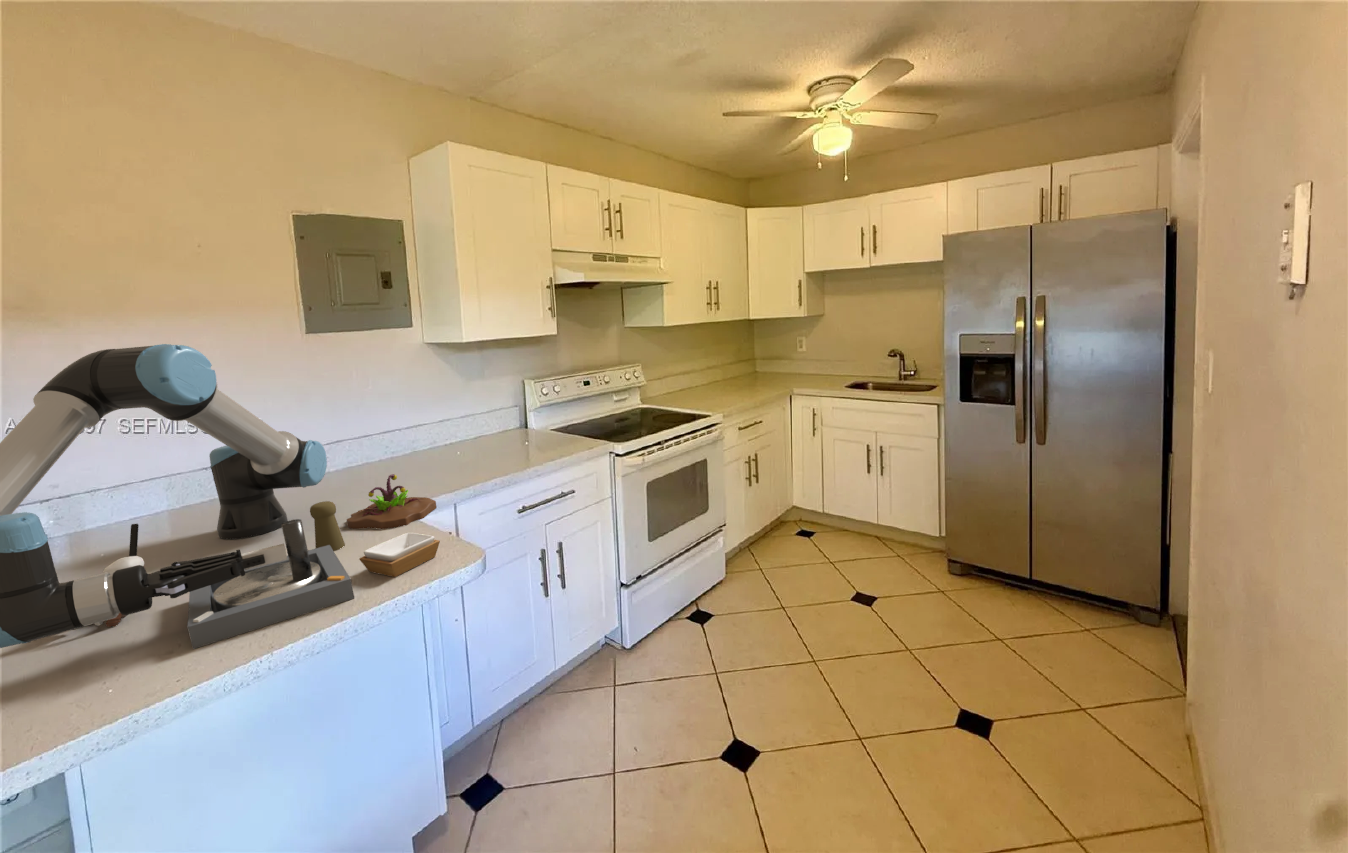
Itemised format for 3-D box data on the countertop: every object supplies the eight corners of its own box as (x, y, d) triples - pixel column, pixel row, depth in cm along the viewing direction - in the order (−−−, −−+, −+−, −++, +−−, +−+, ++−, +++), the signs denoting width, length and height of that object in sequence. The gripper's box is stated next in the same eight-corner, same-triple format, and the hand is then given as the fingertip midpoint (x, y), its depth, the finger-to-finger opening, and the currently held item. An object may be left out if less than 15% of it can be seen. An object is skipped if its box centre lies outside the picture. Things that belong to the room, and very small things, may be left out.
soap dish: (394, 581, 120) (389, 557, 119) (361, 575, 124) (356, 552, 123) (443, 556, 131) (439, 534, 130) (411, 551, 135) (407, 530, 134)
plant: (449, 504, 168) (443, 465, 166) (402, 531, 149) (395, 487, 147) (388, 504, 173) (381, 466, 171) (335, 529, 154) (327, 487, 152)
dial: (192, 615, 107) (174, 546, 104) (255, 574, 123) (241, 513, 121) (288, 608, 107) (273, 538, 104) (339, 567, 123) (327, 506, 121)
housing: (194, 599, 118) (189, 579, 117) (333, 561, 132) (329, 543, 131) (193, 649, 99) (186, 625, 98) (354, 598, 113) (350, 576, 112)
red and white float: (112, 599, 122) (94, 545, 119) (95, 594, 125) (78, 541, 122) (166, 577, 130) (150, 525, 127) (149, 573, 133) (134, 522, 130)
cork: (332, 553, 137) (323, 507, 135) (309, 553, 138) (299, 507, 136) (351, 543, 143) (342, 498, 140) (329, 542, 144) (320, 498, 142)
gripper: (126, 601, 104) (286, 560, 118) (117, 630, 94) (293, 581, 108) (115, 561, 103) (278, 523, 117) (104, 585, 93) (284, 541, 106)
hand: (285, 551), depth 112 cm, fingers closed
